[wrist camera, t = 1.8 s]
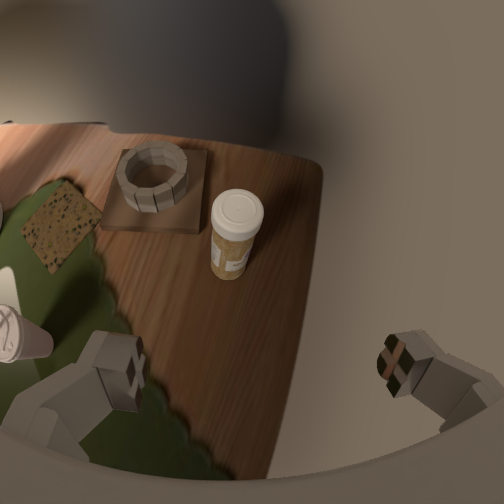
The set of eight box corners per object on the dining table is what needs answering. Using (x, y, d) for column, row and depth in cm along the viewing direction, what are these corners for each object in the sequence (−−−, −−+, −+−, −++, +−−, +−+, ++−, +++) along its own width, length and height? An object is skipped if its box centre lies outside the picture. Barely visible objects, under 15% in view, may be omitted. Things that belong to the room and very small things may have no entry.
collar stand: (102, 230, 35) (89, 210, 30) (124, 155, 40) (117, 132, 35) (199, 234, 37) (198, 213, 32) (207, 156, 42) (207, 131, 37)
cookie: (107, 216, 36) (105, 213, 35) (54, 277, 32) (51, 275, 31) (68, 180, 38) (66, 177, 37) (20, 232, 33) (18, 229, 32)
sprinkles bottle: (240, 284, 35) (258, 238, 23) (205, 275, 35) (204, 223, 23) (249, 252, 37) (269, 194, 25) (215, 243, 37) (220, 181, 24)
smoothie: (58, 317, 29) (-6, 287, 16) (65, 365, 27) (-3, 357, 14) (25, 323, 28) (-40, 296, 15) (30, 368, 25) (-38, 358, 13)
